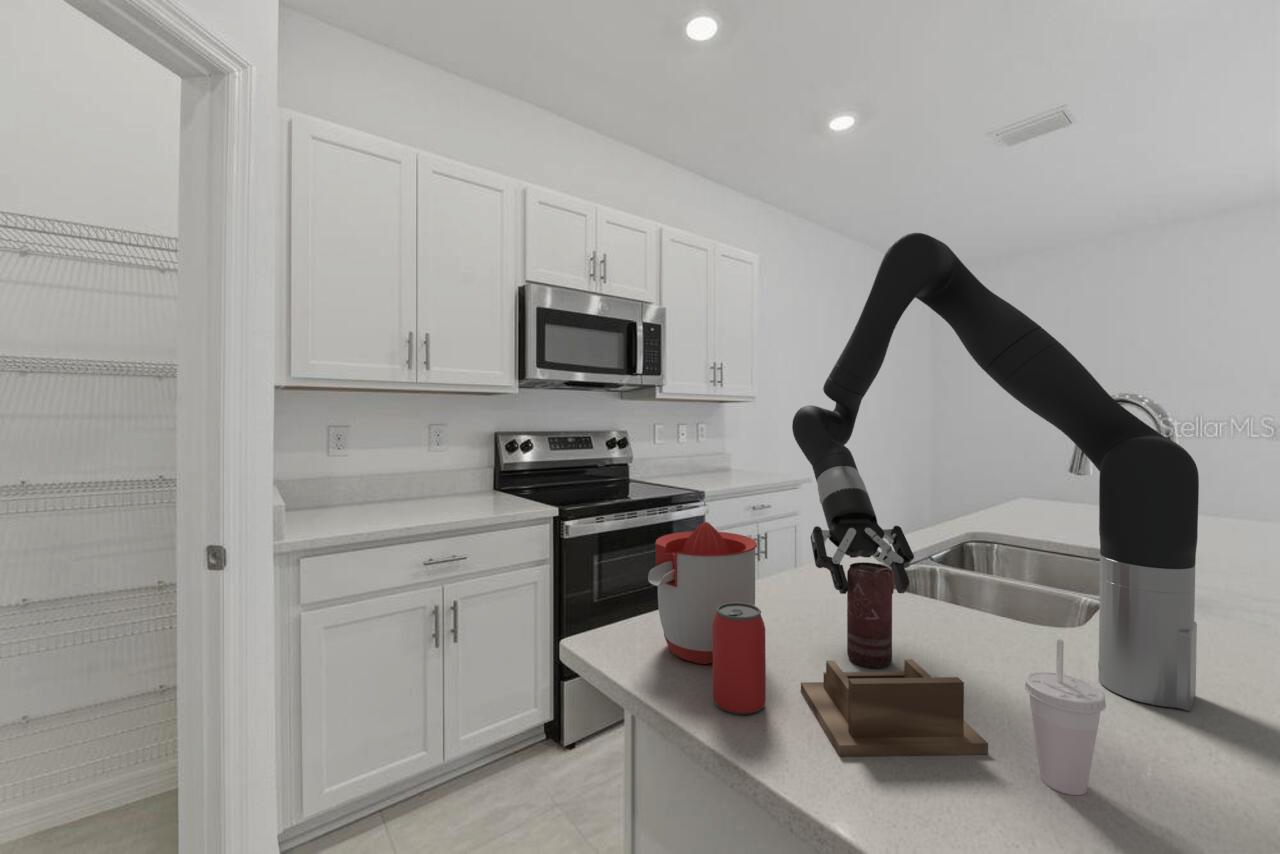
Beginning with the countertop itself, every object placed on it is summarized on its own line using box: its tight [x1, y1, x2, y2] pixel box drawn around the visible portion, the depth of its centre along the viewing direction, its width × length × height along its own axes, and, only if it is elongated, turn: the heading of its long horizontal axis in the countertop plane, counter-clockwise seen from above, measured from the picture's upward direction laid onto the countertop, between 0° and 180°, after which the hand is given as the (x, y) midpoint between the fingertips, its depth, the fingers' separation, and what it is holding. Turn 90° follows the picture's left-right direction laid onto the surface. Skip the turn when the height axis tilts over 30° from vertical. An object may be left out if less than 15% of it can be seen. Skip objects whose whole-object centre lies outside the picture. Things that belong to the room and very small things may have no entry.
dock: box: [800, 659, 989, 757], centre depth 67 cm, size 14×16×7 cm
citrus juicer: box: [647, 521, 758, 665], centre depth 87 cm, size 16×17×20 cm
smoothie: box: [1024, 638, 1107, 796], centre depth 56 cm, size 6×6×14 cm
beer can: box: [712, 602, 767, 715], centre depth 71 cm, size 7×7×12 cm
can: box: [846, 562, 895, 670], centre depth 83 cm, size 6×6×14 cm
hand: (874, 591), depth 82 cm, fingers open, 8 cm apart
